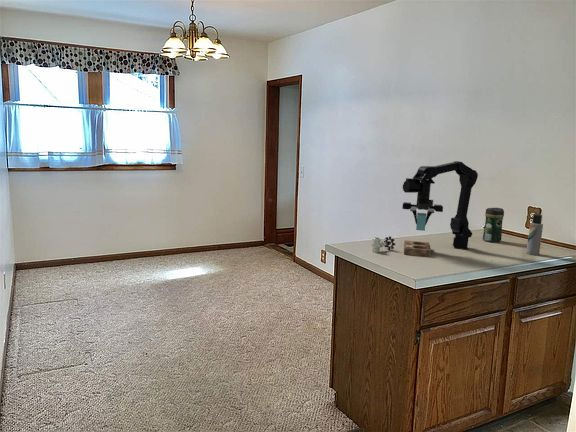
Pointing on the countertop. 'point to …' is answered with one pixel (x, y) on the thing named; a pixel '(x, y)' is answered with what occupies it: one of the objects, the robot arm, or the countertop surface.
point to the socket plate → (417, 248)
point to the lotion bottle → (535, 235)
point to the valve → (382, 244)
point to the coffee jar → (493, 224)
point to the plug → (421, 221)
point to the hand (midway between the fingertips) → (420, 224)
